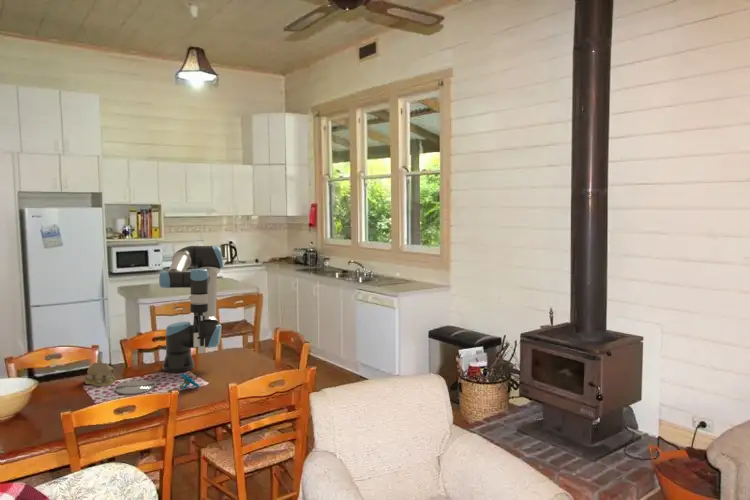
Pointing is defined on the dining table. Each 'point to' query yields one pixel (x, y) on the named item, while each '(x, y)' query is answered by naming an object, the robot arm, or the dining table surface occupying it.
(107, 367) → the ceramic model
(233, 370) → the dining table surface
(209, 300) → the robot arm
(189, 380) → the gear
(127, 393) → the hub plate
